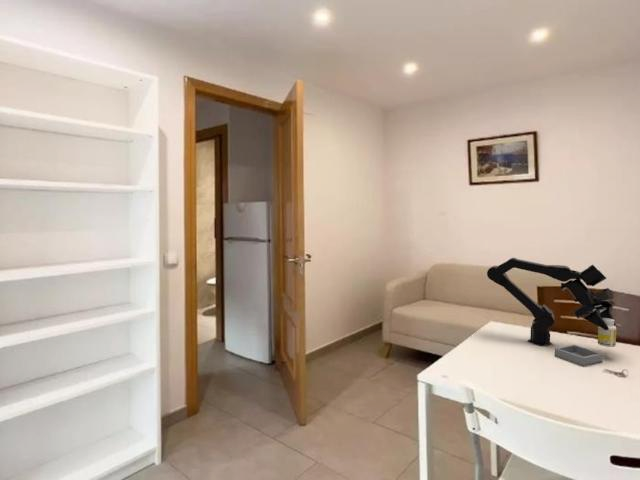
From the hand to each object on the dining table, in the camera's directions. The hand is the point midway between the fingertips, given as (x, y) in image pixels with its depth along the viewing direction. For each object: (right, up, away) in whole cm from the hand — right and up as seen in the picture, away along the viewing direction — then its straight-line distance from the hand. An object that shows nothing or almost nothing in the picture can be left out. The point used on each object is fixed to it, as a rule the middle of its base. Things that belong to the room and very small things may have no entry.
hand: (611, 328), depth 141 cm
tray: (-12, -11, +1) cm, 17 cm away
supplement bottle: (-1, -7, +2) cm, 7 cm away
